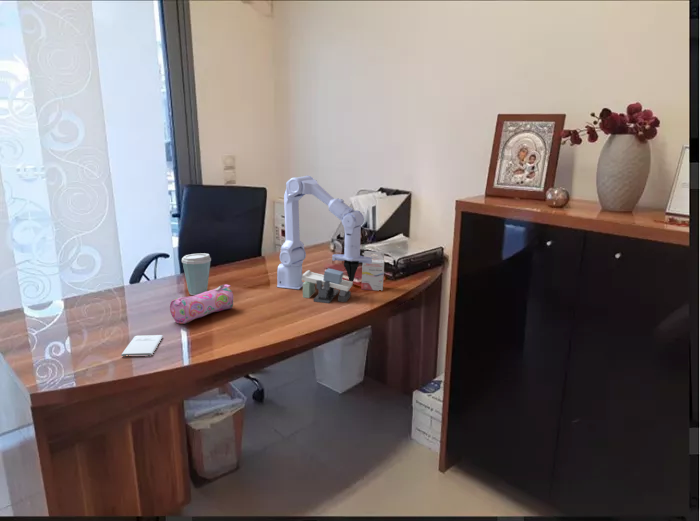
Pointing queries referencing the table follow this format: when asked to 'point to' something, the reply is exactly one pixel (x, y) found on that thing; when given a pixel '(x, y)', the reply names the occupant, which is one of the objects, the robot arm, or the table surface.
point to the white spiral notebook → (142, 345)
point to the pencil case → (201, 304)
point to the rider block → (333, 276)
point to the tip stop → (344, 297)
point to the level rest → (308, 289)
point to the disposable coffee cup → (196, 272)
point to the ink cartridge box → (373, 271)
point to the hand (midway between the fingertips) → (351, 280)
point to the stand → (325, 292)
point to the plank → (343, 286)
